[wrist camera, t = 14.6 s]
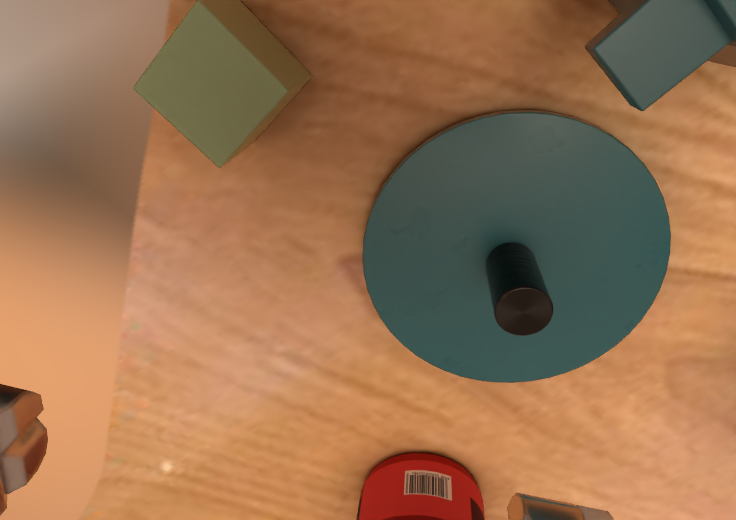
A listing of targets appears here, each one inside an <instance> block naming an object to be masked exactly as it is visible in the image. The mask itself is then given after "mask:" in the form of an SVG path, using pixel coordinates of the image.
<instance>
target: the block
mask: <svg viewBox="0 0 736 520" xmlns="http://www.w3.org/2000/svg"><path fill="white" fill-rule="evenodd" d="M311 78H312V75H311V73H310V72H309V71H308V70H307V69H306V68H305V67H304V66H303V65H302V64H301V63H300V62H299V61H298V60H297V59H296V58H295V57H294V56H293V55H292V54H291V53H290V52H289V51H288V50H287V49H286V48H285V47H284V46H283V45H282V44H281V43H280V41H279V40H278V39H277V38H276V37H275V36H274V35H273V34H272V33H271V32H270V31H269V30H268V29H267V28H266V27H265V26H264V25H263V24H262V23H261V22H260V21H259V20H258V19H257V18H256V17H255V16H254V15H253V14H252V13H251V12H250V11H249V9H248V8H247V7H246V6H245V5H244V4H243V3H242V2H241V1H240V0H197V1H196V3H195V4H194V5H193V7H192V8H191V9H190V11H189V12H188V14H187V15H186V16H185V18H184V19H183V20H182V22H181V23H180V24H179V26H178V27H177V28H176V30H175V31H174V33H173V34H172V35H171V37H170V38H169V39H168V41H167V42H166V43H165V45H164V46H163V48H162V49H161V50H160V52H159V53H158V54H157V56H156V57H155V59H154V60H153V61H152V63H151V64H150V65H149V67H148V68H147V69H146V71H145V72H144V73H143V75H142V76H141V78H140V79H139V80H138V82H137V83H136V84H135V86H134V90H135V91H136V92H137V93H138V94H140V95H141V96H142V97H143V98H144V99H145V100H146V101H147V102H148V103H149V104H150V105H151V106H153V107H154V108H155V109H156V110H157V111H158V112H159V113H160V114H161V115H162V116H163V117H165V118H166V119H167V120H168V121H169V122H170V123H171V124H172V125H173V126H174V127H175V128H176V129H178V130H179V131H180V132H181V133H182V134H183V135H184V136H185V137H186V138H187V139H188V140H189V141H191V142H192V143H193V144H194V145H195V146H196V147H197V148H198V149H199V150H200V151H201V152H202V153H204V154H205V155H206V156H207V157H208V158H209V159H210V160H211V161H212V162H213V163H214V164H215V165H217V166H218V167H219V168H221V167H222V166H224V165H225V164H226V163H227V162H229V161H230V160H231V159H232V158H234V157H235V156H236V155H238V154H239V153H240V152H241V151H243V150H244V149H245V148H246V147H248V146H249V145H250V144H252V143H253V142H254V141H255V140H256V139H257V137H258V136H259V135H260V134H261V133H262V132H263V131H264V130H265V129H266V127H267V126H268V125H269V124H270V123H271V122H272V121H273V120H274V119H275V117H276V116H277V115H278V114H279V113H280V112H281V111H282V110H283V109H284V108H285V106H286V105H287V104H288V103H289V102H290V101H291V100H292V99H293V98H294V96H295V95H296V94H297V93H298V92H299V91H300V90H301V89H302V88H303V86H304V85H305V84H306V83H307V82H308V81H309V80H310V79H311Z"/></svg>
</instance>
